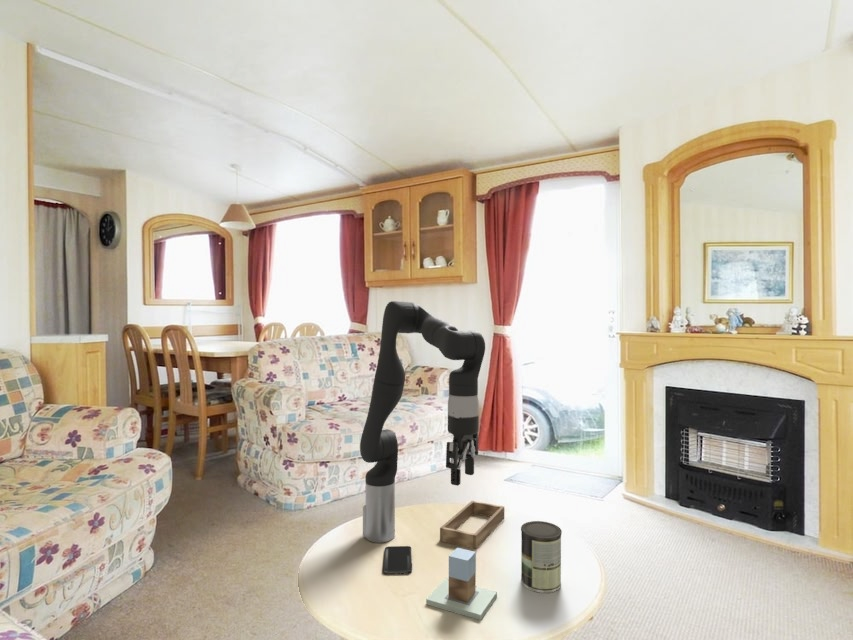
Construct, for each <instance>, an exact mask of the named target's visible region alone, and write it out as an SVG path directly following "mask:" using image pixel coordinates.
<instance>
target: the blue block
mask: <svg viewBox="0 0 853 640" xmlns="http://www.w3.org/2000/svg"><path fill="white" fill-rule="evenodd" d="M476 555H477V552H476V551H474V550H473V551H472V550H470V549H469V550H468V549H466V548H461V547H456V548H455V549H454V550H453V551H452V552H451V553H450V554H449V555H448V578H449V577H452V578H456V579H460V580H464V581H467V582H468V581H469V580H470V578H471V577H472V576H473V575H474V574H475V572H476V569H477V567H476V566H477V558H476V557H477V556H476Z"/></svg>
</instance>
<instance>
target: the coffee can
mask: <svg viewBox="0 0 853 640" xmlns="http://www.w3.org/2000/svg"><path fill="white" fill-rule="evenodd" d="M520 531H521V537H520V538H521V554H520V555H521V558H520V559H521V561H520V562H521V565H520V566H521V573H520V574H521V575H520V577H521V579H520V581H521V584H522V586H524V588H526V589H527V588H528V590H529V589H530V591H532V592H535V593H539V592H540V593H541V594H550V592H551V593H554V591H555V592H557V591H558V590H560V589H559V588H561V587H562V581H561V579H562V577H561V574H562V569H561V568H562V533H563V532H562V529H561V527H560V526H558V525H556V524H554V523H551V522H547V521H540V520H532V521H528V522H527V521H526V522H525V523H523V524H522V525H521V526H520ZM556 590H557V591H556ZM540 593H539V594H540Z"/></svg>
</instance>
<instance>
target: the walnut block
mask: <svg viewBox="0 0 853 640" xmlns="http://www.w3.org/2000/svg"><path fill="white" fill-rule="evenodd" d="M476 575H477V574H476V572H475V574H474V575H473V576H472V577H471V578H470V580H469V581H468V582H467V581H464V580H460V579H456V578H452V577H449V576H448V579H449V598H453V599H456V600H460V601H463V602H467V603H468V602H469V600H470V599H471V598H472V596H473V595H474V594H475V593H476V586H477V585H476V582H477V581H476V577H477V576H476Z"/></svg>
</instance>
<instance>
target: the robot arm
mask: <svg viewBox="0 0 853 640" xmlns="http://www.w3.org/2000/svg"><path fill="white" fill-rule="evenodd" d="M381 325H382V326H381V336H380V346H379V351H378V360H377V363H376V364H377V365H376V369H375V370H376V371H375V374H374V380H373V384H372V391H371V398H370V403H369V407H368V408H369V409H368V412H367V416H366V419H365V423H364V427H363V430H362V434H361V438H360V443H359V453H360V456H361V458H362V460H363V461H364V462H365V463H368V464H369V463H371V464H372V463H375V465H374V466H372V468H370V469H369V470H368V471H367V472H366V474H365V505H363V506H362V537H363V538H365V539H366V540H367V541H369V542H371V543H386V542H387V543H388V542H389V541H392V540H393V539H395V537H396V534H395V533H396V528H395V527H396V526H395V525H396V522H395V521H396V475H397V473H398V458H399V457H398V456H399V442H398V439H397V438H398V437H397V435H396V433H395V432H394V431H393V430H391V429H383V428H384V425H385V422H386V421H387V419H388V418H389V417H390V414H391V413H392V412H393V411H394V410H395V408H396V407H397V405H398V404H399V403H400V401H401V399H402V396H403V393H404V387H405V382H406V371H405V369H404V366H403V363H402V361H401V359H400V357H399V354H398V350H397V337H398V334H421V335H422V336H421V337H422V338H423V340H424V341H425V342H426V343H428V344H429V345H431V346H432V347H435V348H437V349H438V350H439V352H440V353H441V354H442V356H443V357H445V359H449V360H451V361H463V363H462V366H461V367H459V368H457V369H454V370H452V371H451V372H450V373H449V376H448V399H447V400H448V401H447V431H448V433H449V434H451V435H453V436H452V437H453V438H452V441H447V442H446V447H445V448H446V451H445V452H446V454H445V457H446V458H445V468H446V469H450V484H451V485H452V486H457V487H458V486H459V485H461V482H462V481H461V478H462V477H461V470H462V469H461V467H462V464H463V462H464V473H465V475H468V476H473V475H474V474H475V460H476V458H477V457H476V456H478V455H479V428H480V427H479V425H480V424H479V421H480V420H479V419H480V418H479V415H480V414H479V411H480V409H479V406H480V403H479V387H478V386H479V380H478V379H479V375H480V371H481V368H482V364H483V361H484V357H485V354H486V353H485V352H486V341H485V338H484V335H482V334H481V333H480V332H479V331H476V330H458V328H457V327H456V326H455V325H453V324H451V323H449V322H446V321H445V320H442V319H439V318H437V317H435V316H434V315H432V314H431V313H429V312H428V311H427V310H426V309H425V308H424V307H422V306H421V305H419V304H418V303H415V302H410V301H409V302H408V301H399V300H398V301H397V300H396V301H395V300H392V301H389V302H388V303H387V304H386V306H385V309H384V311H383V317H382V324H381Z"/></svg>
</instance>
